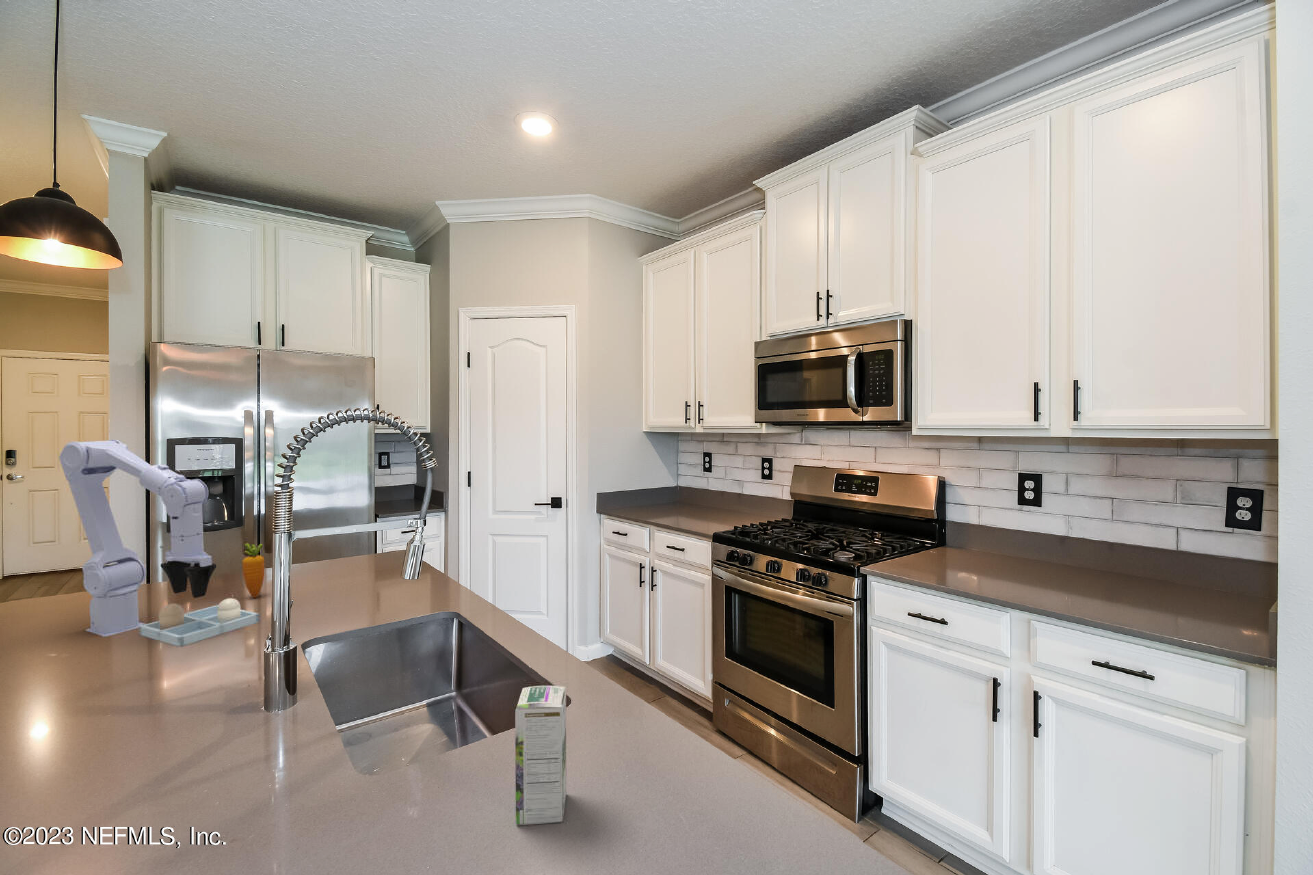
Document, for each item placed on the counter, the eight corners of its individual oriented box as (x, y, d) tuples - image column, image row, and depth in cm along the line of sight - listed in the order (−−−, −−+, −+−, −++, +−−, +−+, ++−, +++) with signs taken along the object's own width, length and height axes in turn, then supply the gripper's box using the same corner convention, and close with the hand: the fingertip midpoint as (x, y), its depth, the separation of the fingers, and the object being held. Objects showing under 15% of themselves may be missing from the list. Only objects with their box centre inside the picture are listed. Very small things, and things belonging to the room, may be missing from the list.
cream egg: (213, 626, 139) (212, 600, 138) (234, 620, 143) (233, 594, 142) (224, 629, 137) (223, 602, 136) (245, 623, 141) (244, 597, 140)
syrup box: (522, 796, 77) (519, 685, 77) (568, 793, 78) (566, 683, 77) (515, 826, 72) (512, 708, 71) (565, 823, 72) (563, 705, 72)
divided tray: (139, 637, 134) (139, 626, 134) (219, 614, 149) (219, 604, 149) (179, 649, 127) (179, 637, 127) (259, 624, 142) (259, 613, 142)
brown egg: (155, 632, 135) (154, 605, 135) (178, 626, 139) (176, 599, 139) (166, 635, 133) (164, 608, 133) (188, 629, 137) (187, 602, 137)
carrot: (270, 595, 164) (268, 540, 164) (256, 600, 159) (254, 544, 159) (253, 594, 165) (251, 540, 164) (239, 600, 160) (236, 544, 159)
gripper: (148, 535, 134) (150, 595, 135) (185, 541, 128) (187, 603, 129) (184, 529, 140) (186, 586, 141) (221, 534, 134) (223, 594, 135)
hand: (189, 594), depth 135 cm, fingers open, 7 cm apart
